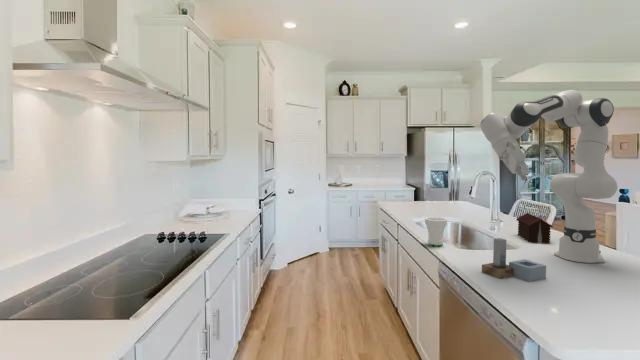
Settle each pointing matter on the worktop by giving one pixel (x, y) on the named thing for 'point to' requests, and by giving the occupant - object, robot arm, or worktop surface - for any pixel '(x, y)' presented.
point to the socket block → (498, 271)
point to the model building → (533, 229)
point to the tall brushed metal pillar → (499, 253)
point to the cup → (435, 230)
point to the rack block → (528, 270)
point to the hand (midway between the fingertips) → (526, 176)
